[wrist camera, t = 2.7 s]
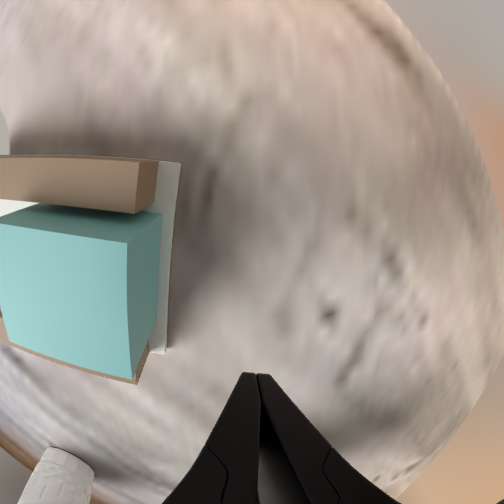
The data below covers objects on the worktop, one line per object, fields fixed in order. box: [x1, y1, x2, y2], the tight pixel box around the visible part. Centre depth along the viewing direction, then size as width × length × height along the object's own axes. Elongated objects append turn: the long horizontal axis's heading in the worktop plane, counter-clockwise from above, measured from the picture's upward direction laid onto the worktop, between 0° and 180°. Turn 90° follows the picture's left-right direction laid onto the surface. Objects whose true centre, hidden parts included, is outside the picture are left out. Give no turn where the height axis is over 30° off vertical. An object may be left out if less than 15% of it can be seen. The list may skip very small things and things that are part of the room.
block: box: [0, 203, 162, 380], centre depth 12 cm, size 7×6×5 cm
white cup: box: [17, 447, 95, 504], centre depth 18 cm, size 8×8×10 cm
